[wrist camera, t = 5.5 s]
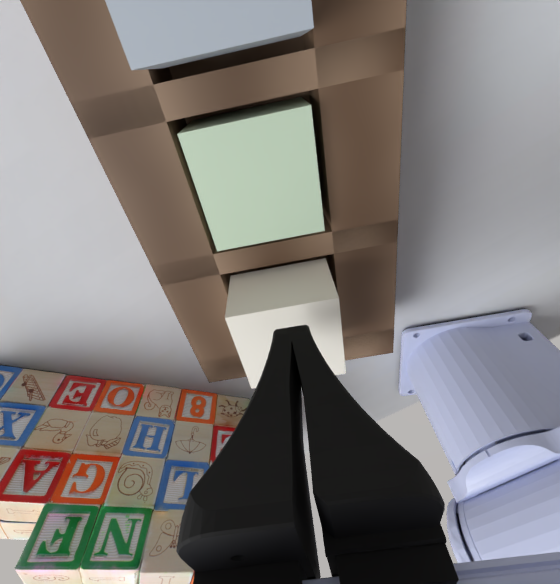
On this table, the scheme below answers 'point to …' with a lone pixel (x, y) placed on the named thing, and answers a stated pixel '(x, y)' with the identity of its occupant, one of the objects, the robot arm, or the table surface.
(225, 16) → the slate grey key
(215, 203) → the sage green key
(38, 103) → the table surface
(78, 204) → the table surface
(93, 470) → the stack of blocks
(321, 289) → the cream key
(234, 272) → the key console
